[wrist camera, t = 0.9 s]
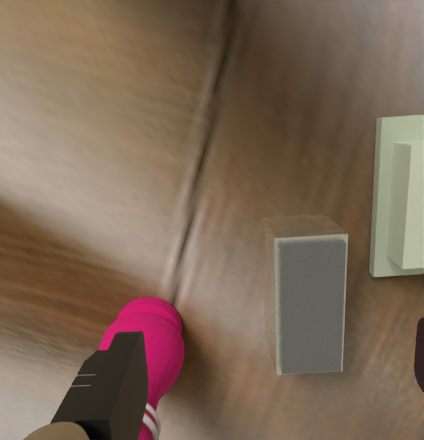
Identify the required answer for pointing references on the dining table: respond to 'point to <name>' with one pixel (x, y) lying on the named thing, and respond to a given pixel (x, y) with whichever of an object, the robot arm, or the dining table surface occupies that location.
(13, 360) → the dining table surface
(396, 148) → the stand
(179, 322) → the pepper mill
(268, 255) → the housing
